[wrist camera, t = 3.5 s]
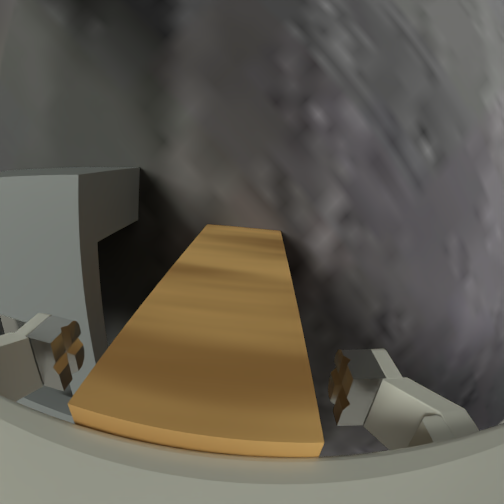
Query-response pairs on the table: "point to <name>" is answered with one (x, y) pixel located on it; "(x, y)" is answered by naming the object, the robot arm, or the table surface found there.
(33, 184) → the hole bridge
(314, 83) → the table surface
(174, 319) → the tall pin
